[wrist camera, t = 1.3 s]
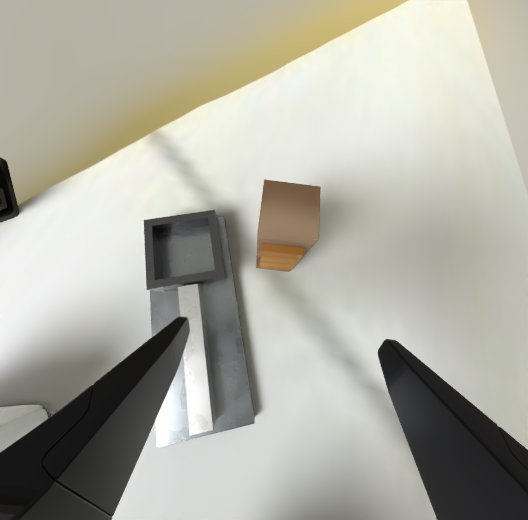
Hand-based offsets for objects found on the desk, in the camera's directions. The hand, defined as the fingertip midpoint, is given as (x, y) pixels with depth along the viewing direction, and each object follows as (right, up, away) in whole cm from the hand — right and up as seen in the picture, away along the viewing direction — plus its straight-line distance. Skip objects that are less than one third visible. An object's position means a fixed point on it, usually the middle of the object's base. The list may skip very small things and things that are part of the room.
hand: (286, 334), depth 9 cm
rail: (-8, -3, +13) cm, 15 cm away
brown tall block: (0, +4, +15) cm, 15 cm away
